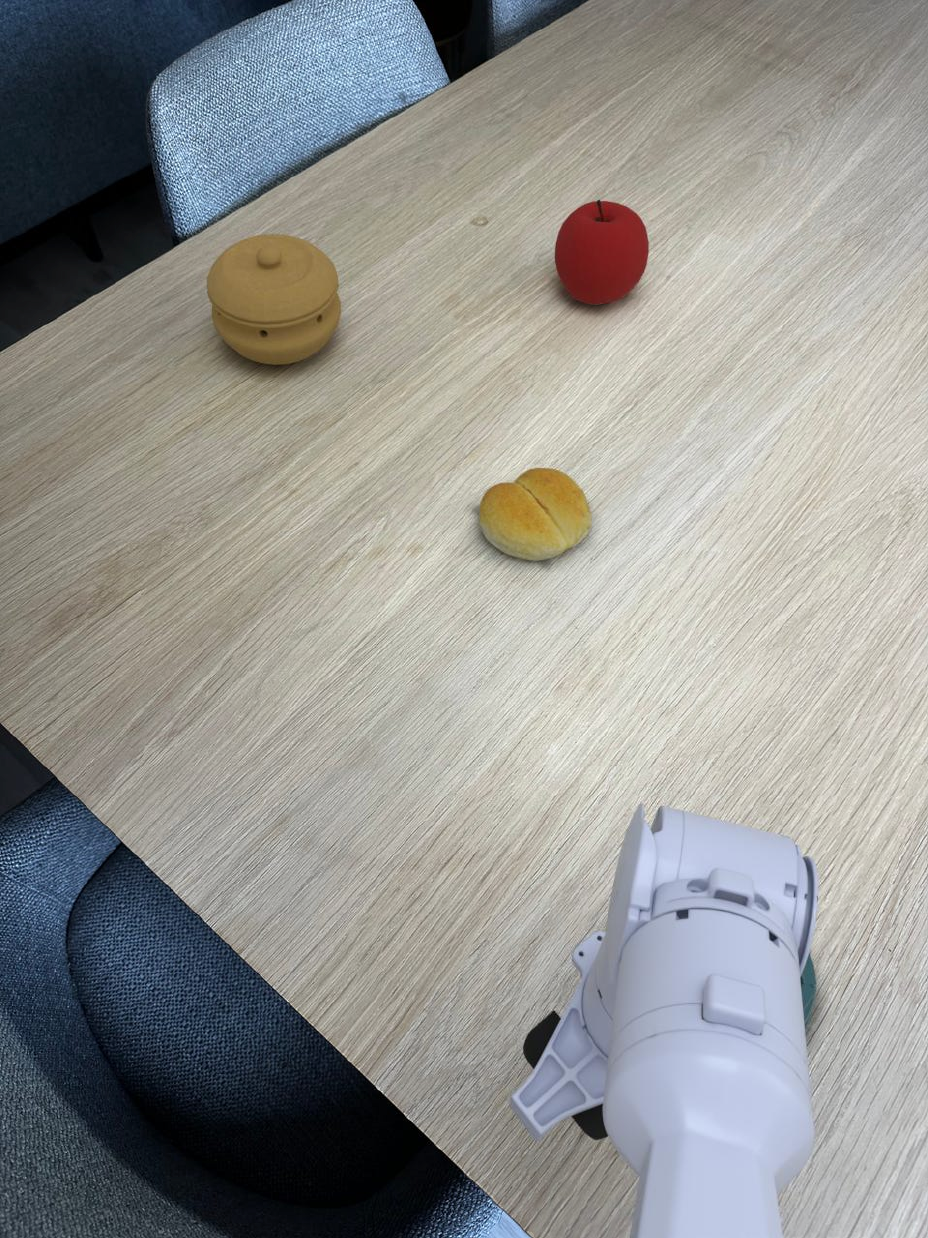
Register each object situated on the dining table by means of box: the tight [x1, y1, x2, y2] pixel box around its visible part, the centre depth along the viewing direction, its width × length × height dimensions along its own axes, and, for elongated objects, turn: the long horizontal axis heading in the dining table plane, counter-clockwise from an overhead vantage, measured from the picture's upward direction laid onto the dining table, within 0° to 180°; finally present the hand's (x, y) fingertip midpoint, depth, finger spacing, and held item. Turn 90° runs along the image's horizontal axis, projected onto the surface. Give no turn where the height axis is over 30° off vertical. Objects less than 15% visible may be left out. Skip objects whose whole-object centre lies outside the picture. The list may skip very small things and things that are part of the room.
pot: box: [206, 233, 342, 366], centre depth 94 cm, size 12×12×10 cm
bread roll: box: [478, 467, 593, 562], centre depth 84 cm, size 8×9×4 cm
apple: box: [554, 199, 650, 305], centre depth 99 cm, size 9×9×10 cm
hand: (615, 1055), depth 55 cm, fingers closed on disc, 5 cm apart
